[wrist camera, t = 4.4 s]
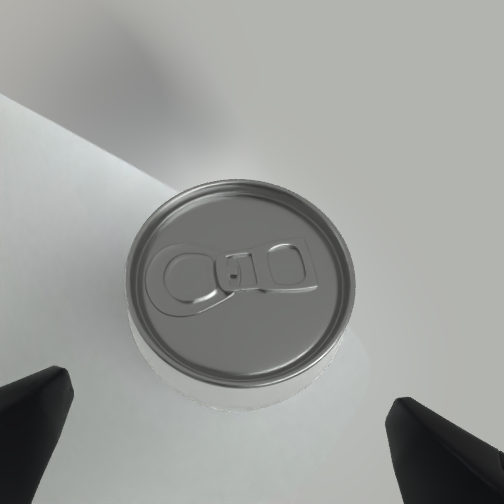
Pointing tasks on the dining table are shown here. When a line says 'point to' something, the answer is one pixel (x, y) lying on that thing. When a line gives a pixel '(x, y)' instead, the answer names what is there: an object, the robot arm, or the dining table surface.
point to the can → (239, 293)
